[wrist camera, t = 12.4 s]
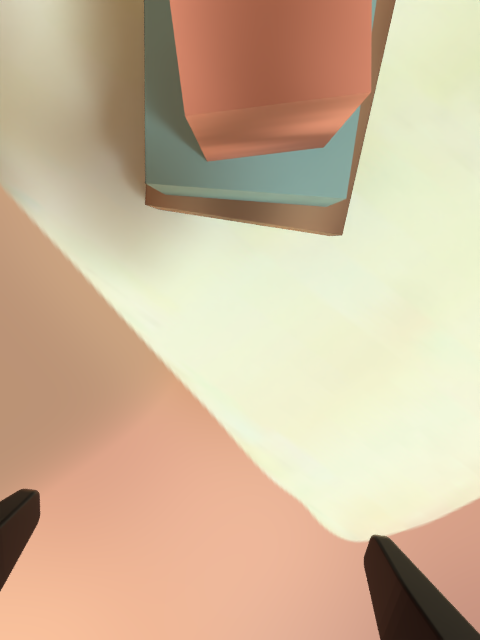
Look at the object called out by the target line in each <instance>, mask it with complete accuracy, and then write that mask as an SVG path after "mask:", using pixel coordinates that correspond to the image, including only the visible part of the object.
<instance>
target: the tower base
mask: <svg viewBox="0 0 480 640" xmlns="http://www.w3.org/2000/svg"><path fill="white" fill-rule="evenodd" d="M395 1H396V0H377V1H376V8H375V14H374V21H373V27H372V37H371V93H370V94H369V95H368V96H367V98H366V99H365V100H364V101H363V102H362V103H361V106H360V112H359V119H358V125H357V132H356V138H355V145H354V152H353V158H352V165H351V171H350V178H349V184H348V191H347V197H346V199H344V200H342V201H340V202H337V203H335V204H332V205H330V206H328V207H321V206H308V205H295V204H282V203H269V202H256V201H243V200H229V199H216V198H203V197H190V196H177V195H165V194H163V193H161V192H160V191H158V190H156V189H154V188H153V187H151V186H149V185H147V184H146V198H145V205H148V206H150V207H153V208H156V209H159V210H166V211H172V212H179V213H185V214H192V215H198V216H204V217H211V218H217V219H224V220H230V221H237V222H243V223H250V224H256V225H262V226H269V227H275V228H282V229H288V230H295V231H301V232H308V233H314V234H320V235H327V236H336V235H342V234H343V229H344V225H345V220H346V216H347V212H348V207H349V203H350V199H351V194H352V190H353V185H354V181H355V177H356V172H357V168H358V163H359V159H360V155H361V150H362V146H363V141H364V137H365V133H366V128H367V124H368V120H369V115H370V111H371V106H372V102H373V98H374V93H375V89H376V84H377V80H378V76H379V71H380V67H381V62H382V58H383V54H384V49H385V45H386V40H387V36H388V32H389V27H390V23H391V19H392V14H393V10H394V5H395Z"/></svg>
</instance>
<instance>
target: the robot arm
mask: <svg viewBox="0 0 480 640" xmlns="http://www.w3.org/2000/svg"><path fill="white" fill-rule="evenodd" d="M39 518H40V495H39V492H38V491H37V490H31V489H21V490H19V491H17V492H15V493H14V494H12V495H10V496H9V497H7V498H5V499H4V500H2V501H0V591H1V589H2V587H3V585H4V584H5V582H6V580H7V578H8V577H9V575H10V573H11V571H12V569H13V567H14V566H15V564H16V562H17V560H18V558H19V557H20V555H21V553H22V551H23V549H24V548H25V546H26V544H27V542H28V540H29V538H30V537H31V535H32V533H33V531H34V529H35V528H36V525H37V524H38V521H39ZM364 568H365V572H366V577H367V581H368V586H369V590H370V595H371V599H372V604H373V609H374V613H375V618H376V622H377V626H378V631H379V635H380V639H381V640H480V634H479V633H478V632H477V631H476V630H475V629H474V627H473V626H472V625H471V624H470V623H469V622H468V621H467V620H466V619H465V618H464V617H463V616H462V615H461V614H460V613H459V611H458V610H457V609H456V608H455V607H454V606H453V605H452V604H451V603H450V602H449V601H448V600H447V599H446V598H445V597H444V596H443V594H442V593H441V592H439V590H438V589H437V588H436V587H435V586H434V585H433V584H432V583H431V582H430V581H429V580H428V578H427V577H426V576H425V575H424V574H423V573H422V572H421V571H420V570H419V569H418V568H417V567H416V566H415V565H414V564H413V563H412V561H411V560H410V559H409V558H408V557H407V556H406V555H405V554H404V553H403V552H402V551H401V550H400V549H399V548H398V547H397V545H396V544H395V543H394V542H393V541H392V540H391V539H390V538H388V537H386V536H381V535H372V536H371V538H370V541H369V544H368V547H367V550H366V553H365V556H364Z"/></svg>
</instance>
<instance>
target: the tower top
mask: <svg viewBox="0 0 480 640" xmlns="http://www.w3.org/2000/svg"><path fill="white" fill-rule="evenodd" d="M376 1H377V0H372V27H373V21H374V14H375V8H376ZM144 46H145V183H146V184H147V185H149V186H151V187H153V188H154V189H156V190H158V191H160V192H161V193H163V194H165V195H177V196H190V197H203V198H216V199H229V200H243V201H256V202H269V203H282V204H295V205H308V206H321V207H328V206H330V205H332V204H335V203H337V202H340V201H342V200H344V199H346V197H347V191H348V184H349V178H350V171H351V165H352V158H353V152H354V145H355V138H356V132H357V125H358V119H359V112H360V106H361V105H360V106H359V107H358V108H357V109H356V110H355V112H354V113H353V114H352V115H351V116H350V117H349V119H348V120H347V121H346V122H345V123H344V124H343V126H342V127H341V128H340V129H339V130H338V131H337V133H336V134H335V135H334V136H333V137H332V138H331V140H330V141H329V142H328V143H327V144H326V145H325V147H324V148H315V149H307V150H299V151H291V152H282V153H274V154H266V155H258V156H249V157H241V158H233V159H225V160H216V161H208V162H207V160H206V158H205V156H204V154H203V152H202V150H201V148H200V146H199V144H198V142H197V140H196V137H195V135H194V133H193V131H192V129H191V127H190V125H189V123H188V121H187V119H186V117H185V112H184V105H183V97H182V90H181V82H180V75H179V67H178V60H177V52H176V45H175V37H174V30H173V22H172V15H171V7H170V0H144Z"/></svg>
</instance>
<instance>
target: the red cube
mask: <svg viewBox="0 0 480 640" xmlns="http://www.w3.org/2000/svg"><path fill="white" fill-rule="evenodd" d="M170 7H171V15H172V22H173V30H174V37H175V45H176V52H177V60H178V67H179V75H180V82H181V90H182V97H183V105H184V112H185V117H186V119H187V121H188V123H189V125H190V127H191V129H192V131H193V133H194V135H195V137H196V140H197V142H198V144H199V146H200V148H201V150H202V152H203V154H204V156H205V158H206V160H207V162H208V161H216V160H225V159H233V158H241V157H249V156H258V155H266V154H274V153H282V152H291V151H299V150H307V149H315V148H324V147H325V145H326V144H327V143H328V142H329V141H330V140H331V138H332V137H333V136H334V135H335V134H336V133H337V131H338V130H339V129H340V128H341V127H342V126H343V124H344V123H345V122H346V121H347V120H348V119H349V117H350V116H351V115H352V114H353V113H354V112H355V110H356V109H357V108H358V107H359V106H360V105H361V103H362V102H363V101H364V100H365V99H366V98H367V96H368V95H369V94H370V93H371V37H372V0H170Z"/></svg>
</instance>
